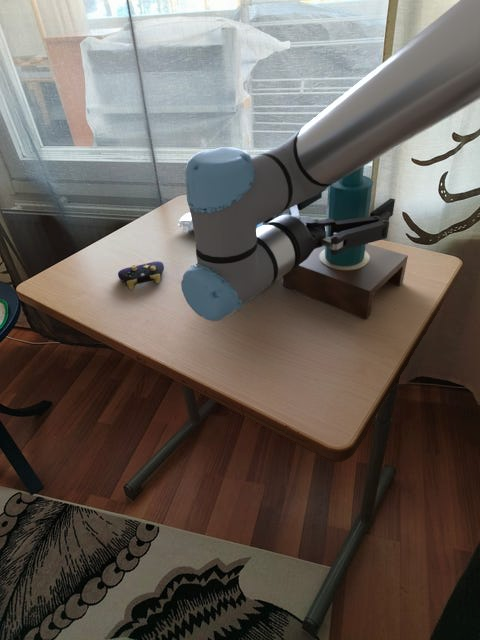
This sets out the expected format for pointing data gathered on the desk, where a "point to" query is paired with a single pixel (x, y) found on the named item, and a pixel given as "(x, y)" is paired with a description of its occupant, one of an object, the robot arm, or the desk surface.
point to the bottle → (349, 211)
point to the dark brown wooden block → (347, 278)
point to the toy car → (186, 222)
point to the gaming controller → (141, 274)
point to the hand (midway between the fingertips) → (354, 197)
